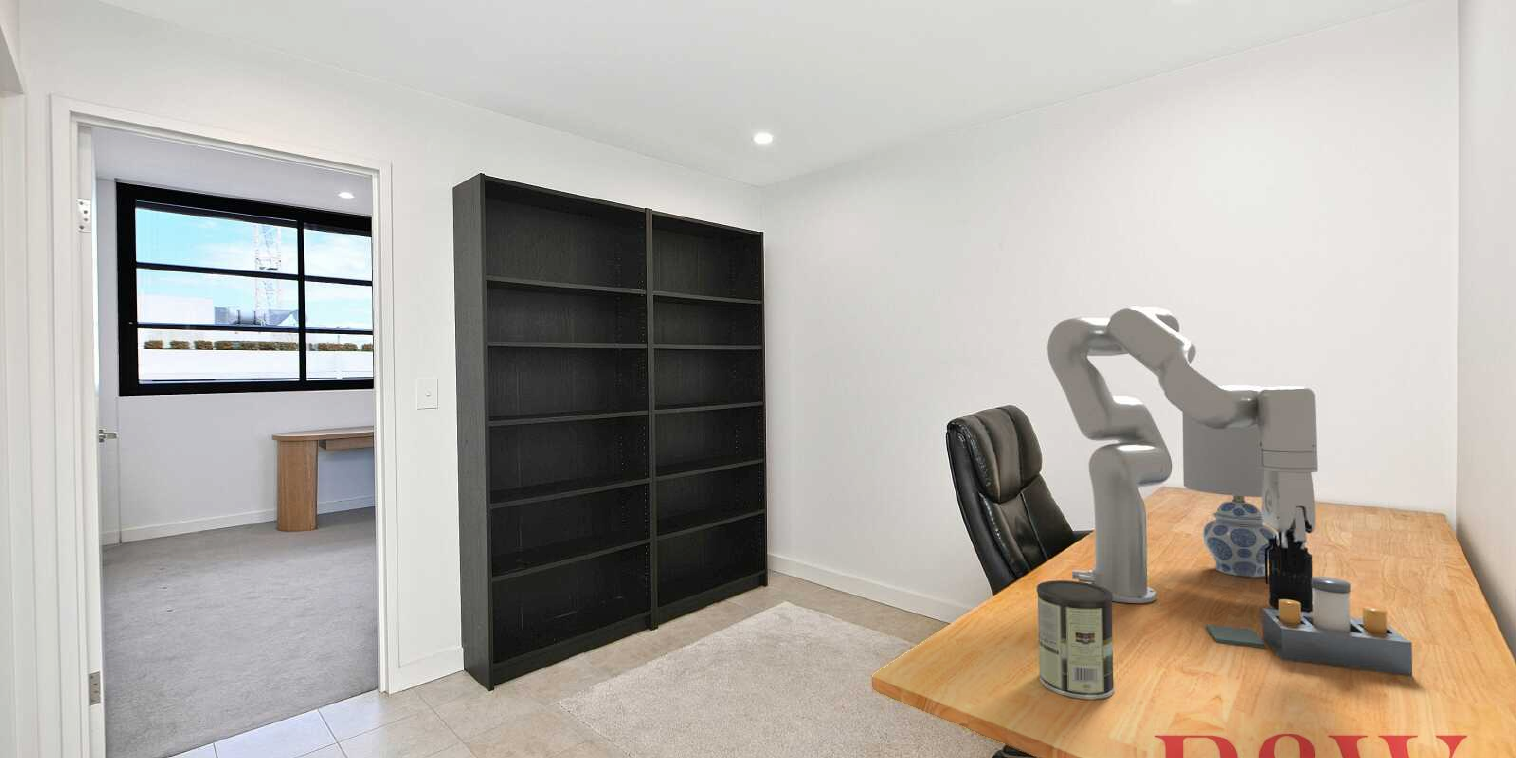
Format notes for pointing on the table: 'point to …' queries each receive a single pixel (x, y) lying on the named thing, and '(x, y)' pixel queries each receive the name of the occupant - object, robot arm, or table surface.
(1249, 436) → the lamp
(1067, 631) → the coffee can
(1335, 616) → the ball
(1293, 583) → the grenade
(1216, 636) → the mat
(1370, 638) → the housing
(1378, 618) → the plunger right
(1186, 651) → the table surface
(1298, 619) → the plunger left
